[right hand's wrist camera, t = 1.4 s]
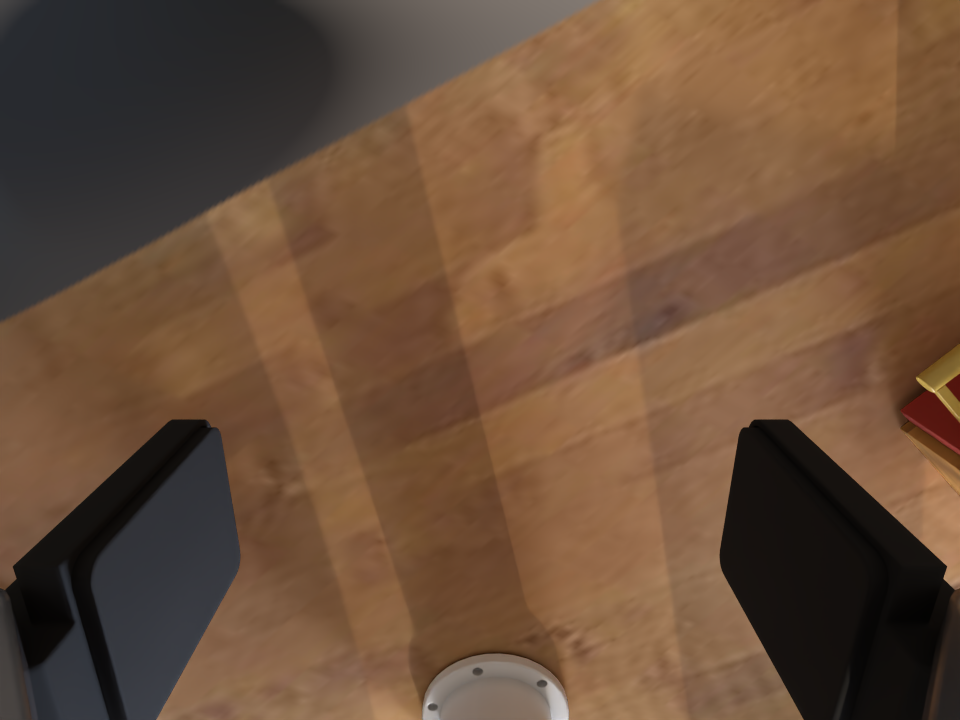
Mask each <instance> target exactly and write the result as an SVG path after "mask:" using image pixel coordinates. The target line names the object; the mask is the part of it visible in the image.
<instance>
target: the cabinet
mask: <svg viewBox="0 0 960 720" xmlns="http://www.w3.org/2000/svg"><path fill="white" fill-rule="evenodd" d="M901 430H902V431H903V432H904V433H905V435H906V436H907V437H908V438H909V439H910V440H911V441H912V442H913V444H914V445H915V446H916V447H917V448H918V449H919V450H920V452H921V453H922V454H923V455H924V456H925V457H926V458H927V459H928V461H929V462H930V463H931V464H932V465H933V466H934V467H935V469H936V470H937V471H938V472H939V473H940V474H941V475H942V476H943V478H944V479H945V480H946V481H947V482H948V483H949V484H950V486H951V487H952V488H953V489H954V490H955V491H956V492H957V493H958V495H959V496H960V455H959V454H957V453H956V452H954V451H953V450H951V449H950V448H948V447H947V446H946V445H944V444H943V443H941V442H940V441H938V440H937V439H935V438H934V437H932V436H931V435H929V434H928V433H926V432H925V431H923V430H922V429H920V428H919V427H917V426H916V425H914V424H913V423H911V422H910V421H909V422H908V423H906V424H905V425H903V426H902V427H901Z"/></svg>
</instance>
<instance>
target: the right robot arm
mask: <svg viewBox="0 0 960 720" xmlns="http://www.w3.org/2000/svg"><path fill="white" fill-rule="evenodd" d="M239 564H240V548H239V541H238V535H237V529H236V523H235V517H234V511H233V505H232V499H231V493H230V487H229V481H228V475H227V469H226V462H225V456H224V450H223V444H222V438H221V434H220V431H219V429H217V428H211V426H210V424H209V422H208V421H207V420H171V421H169V422H168V423H167V424H166V425H165V426H164V427H162V428H161V429H160V430H159V431H158V432H157V433H156V434H155V435H154V436H153V437H152V438H151V439H150V440H148V441H147V442H146V443H145V444H144V445H143V446H142V447H141V448H140V449H139V450H138V451H137V452H136V453H134V454H133V455H132V456H131V457H130V458H129V459H128V460H127V461H126V462H125V463H124V464H123V465H122V466H120V467H119V468H118V469H117V470H116V471H115V472H114V473H113V474H112V475H111V476H110V477H109V478H108V479H106V480H105V481H104V482H103V483H102V484H101V485H100V486H99V487H98V488H97V489H96V490H95V491H94V492H92V493H91V494H90V495H89V496H88V497H87V498H86V499H85V500H84V501H83V502H82V503H81V504H80V505H78V506H77V507H76V508H75V509H74V510H73V511H72V512H71V513H70V514H69V515H68V516H67V517H66V518H64V519H63V520H62V521H61V522H60V523H59V524H58V525H57V526H56V527H55V528H54V529H53V530H52V531H50V532H49V533H48V534H47V535H46V536H45V537H44V538H43V539H42V540H41V541H40V542H39V543H38V544H36V545H35V546H34V547H33V548H32V549H31V550H30V551H29V552H28V553H27V554H26V555H25V556H24V557H22V558H21V559H20V560H19V561H18V562H17V563H16V564H15V565H14V566H13V569H14V572H15V575H16V578H17V579H16V580H15V581H14V582H13V583H12V584H11V585H10V586H9V587H8V588H7V589H6V590H3V589H1V588H0V720H156V719H157V717H158V715H159V714H160V712H161V710H162V708H163V706H164V704H165V703H166V701H167V699H168V697H169V695H170V694H171V692H172V690H173V688H174V686H175V685H176V683H177V681H178V679H179V677H180V675H181V674H182V672H183V670H184V668H185V666H186V665H187V663H188V661H189V659H190V657H191V656H192V654H193V652H194V650H195V648H196V646H197V645H198V643H199V641H200V639H201V637H202V636H203V634H204V632H205V630H206V628H207V627H208V625H209V623H210V621H211V619H212V617H213V616H214V614H215V612H216V610H217V608H218V607H219V605H220V603H221V601H222V599H223V598H224V596H225V594H226V592H227V590H228V588H229V587H230V585H231V583H232V581H233V579H234V578H235V576H236V574H237V572H238V569H239ZM720 564H721V569H722V572H723V574H724V576H725V578H726V579H727V581H728V583H729V585H730V587H731V588H732V590H733V592H734V594H735V596H736V598H737V599H738V601H739V603H740V605H741V607H742V608H743V610H744V612H745V614H746V616H747V617H748V619H749V621H750V623H751V625H752V627H753V628H754V630H755V632H756V634H757V636H758V637H759V639H760V641H761V643H762V645H763V646H764V648H765V650H766V652H767V654H768V656H769V657H770V659H771V661H772V663H773V665H774V666H775V668H776V670H777V672H778V674H779V675H780V677H781V679H782V681H783V683H784V685H785V686H786V688H787V690H788V692H789V694H790V695H791V697H792V699H793V701H794V703H795V704H796V706H797V708H798V710H799V712H800V714H801V715H802V717H803V719H804V720H960V588H959V589H957V590H954V589H953V588H952V587H951V586H950V585H949V584H948V583H947V582H946V581H945V580H944V579H943V578H944V575H945V572H946V569H947V566H946V565H945V564H944V563H943V562H942V561H941V560H940V559H939V558H938V557H936V556H935V555H934V554H933V553H932V552H931V551H930V550H929V549H928V548H927V547H926V546H925V545H924V544H922V543H921V542H920V541H919V540H918V539H917V538H916V537H915V536H914V535H913V534H912V533H911V532H910V531H908V530H907V529H906V528H905V527H904V526H903V525H902V524H901V523H900V522H899V521H898V520H897V519H896V518H894V517H893V516H892V515H891V514H890V513H889V512H888V511H887V510H886V509H885V508H884V507H883V506H882V505H880V504H879V503H878V502H877V501H876V500H875V499H874V498H873V497H872V496H871V495H870V494H869V493H868V492H866V491H865V490H864V489H863V488H862V487H861V486H860V485H859V484H858V483H857V482H856V481H855V480H854V479H852V478H851V477H850V476H849V475H848V474H847V473H846V472H845V471H844V470H843V469H842V468H841V467H840V466H838V465H837V464H836V463H835V462H834V461H833V460H832V459H831V458H830V457H829V456H828V455H827V454H826V453H824V452H823V451H822V450H821V449H820V448H819V447H818V446H817V445H816V444H815V443H814V442H813V441H812V440H810V439H809V438H808V437H807V436H806V435H805V434H804V433H803V432H802V431H801V430H800V429H799V428H798V427H796V426H795V425H794V424H793V423H792V422H791V421H789V420H753V421H752V422H751V424H750V426H749V428H743V429H741V431H740V434H739V438H738V444H737V450H736V456H735V462H734V469H733V475H732V481H731V487H730V493H729V499H728V505H727V511H726V517H725V523H724V529H723V535H722V541H721V548H720ZM422 720H569V708H568V701H567V697H566V694H565V690H564V688H563V687H562V685H561V683H560V682H559V680H558V679H557V678H556V677H555V676H554V675H553V674H552V673H551V672H550V671H549V670H547V669H546V668H544V667H543V666H541V665H540V664H538V663H536V662H533V661H531V660H529V659H526V658H523V657H519V656H515V655H509V654H483V655H477V656H472V657H469V658H466V659H463V660H460V661H458V662H456V663H454V664H452V665H450V666H449V667H447V668H446V669H444V670H443V671H442V672H441V673H439V674H438V675H437V676H436V677H435V679H434V680H433V681H432V682H431V683H430V685H429V687H428V689H427V691H426V693H425V697H424V701H423V709H422Z"/></svg>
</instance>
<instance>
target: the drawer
mask: <svg viewBox="0 0 960 720" xmlns="http://www.w3.org/2000/svg"><path fill="white" fill-rule="evenodd" d="M916 379H917V381H918V382H919V383H920V384H921V385H922V386H923V387H924V388H926V389H927V390H926V391H925V392H924V393H922V394H921V395H920V396H918V397H917V398H916V399H914V400H913V401H912V402H910V403H909V404H908V405H906V406H905V407H904V408H902V409H901V410H900V411H901V412H902V413H903V415H904V416H905V417H906V418H907V419H908V420H909V421H910V422H911V423H913V424H914V425H916V426H917V427H919V428H920V429H922V430H923V431H925V432H926V433H928V434H929V435H931V436H932V437H934V438H935V439H937V440H938V441H940V442H941V443H943V444H944V445H946V446H947V447H948V448H950V449H951V450H953V451H954V452H956V453H957V454H959V455H960V344H958V345H957V346H956V347H954V348H953V349H952V350H950V351H949V352H948V353H947V354H945V355H944V356H943V357H941V358H940V359H939V360H937V361H936V362H935V363H933V364H932V365H931V366H929V367H928V368H927V369H925V370H924V371H923V372H922V373H920V374H919V375H918V376H916Z"/></svg>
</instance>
